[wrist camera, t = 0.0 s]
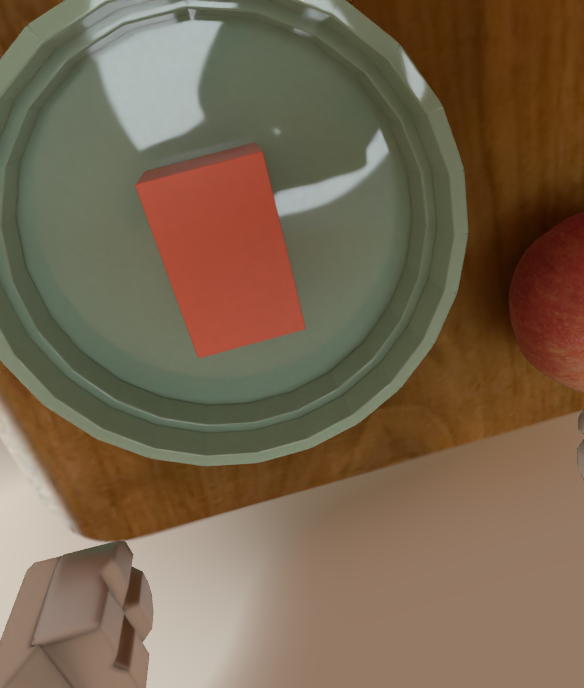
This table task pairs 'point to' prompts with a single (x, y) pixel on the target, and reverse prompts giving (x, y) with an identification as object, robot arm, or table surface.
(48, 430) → the table surface
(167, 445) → the bowl
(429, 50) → the table surface
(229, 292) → the red rectangular block
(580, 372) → the apple
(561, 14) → the table surface
